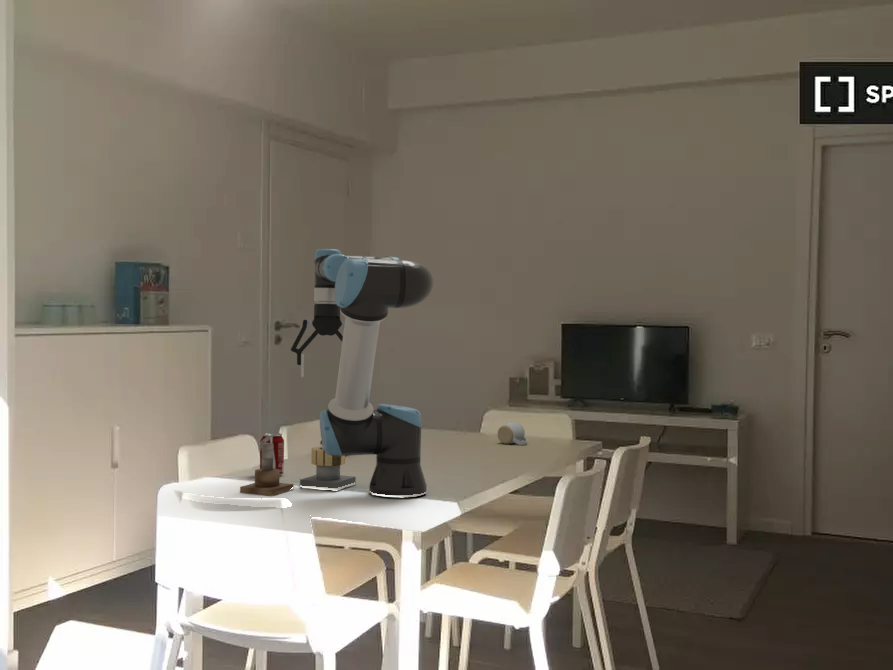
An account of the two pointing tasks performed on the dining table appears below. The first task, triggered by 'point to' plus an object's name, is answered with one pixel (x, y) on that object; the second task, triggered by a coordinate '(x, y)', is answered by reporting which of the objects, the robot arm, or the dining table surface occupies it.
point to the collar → (326, 458)
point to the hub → (327, 477)
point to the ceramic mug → (512, 434)
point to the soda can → (274, 450)
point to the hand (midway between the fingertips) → (326, 377)
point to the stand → (266, 476)
